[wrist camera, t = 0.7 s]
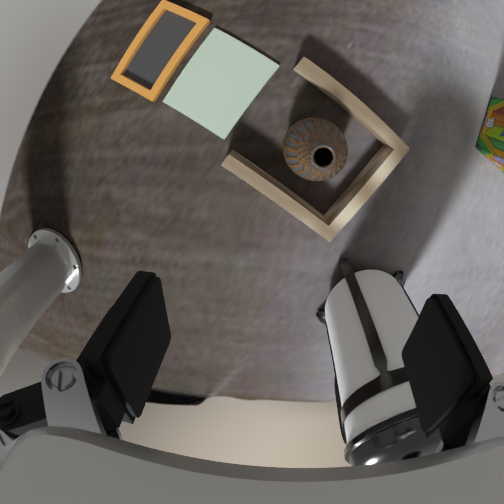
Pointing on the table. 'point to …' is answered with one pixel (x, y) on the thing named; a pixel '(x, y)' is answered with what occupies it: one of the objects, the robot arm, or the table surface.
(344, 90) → the open-sided enclosure
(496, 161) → the chalk box
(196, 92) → the pad
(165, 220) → the table surface
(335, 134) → the vase
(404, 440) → the coffee press
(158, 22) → the orange picture frame
